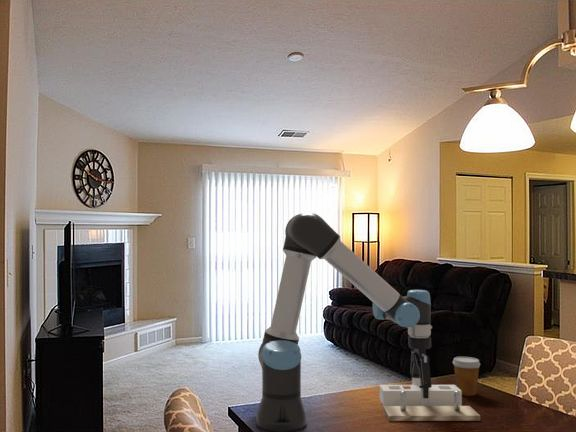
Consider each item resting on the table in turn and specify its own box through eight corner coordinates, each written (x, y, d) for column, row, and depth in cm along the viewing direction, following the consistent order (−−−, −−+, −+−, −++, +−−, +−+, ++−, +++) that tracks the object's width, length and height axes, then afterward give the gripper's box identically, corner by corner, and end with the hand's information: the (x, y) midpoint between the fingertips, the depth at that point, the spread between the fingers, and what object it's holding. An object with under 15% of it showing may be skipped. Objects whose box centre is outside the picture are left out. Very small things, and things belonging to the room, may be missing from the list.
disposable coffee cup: (485, 392, 184) (484, 359, 184) (474, 399, 177) (474, 364, 177) (459, 387, 190) (458, 355, 191) (448, 393, 183) (448, 359, 183)
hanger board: (388, 420, 156) (388, 415, 156) (383, 410, 165) (383, 406, 165) (480, 420, 156) (480, 415, 156) (469, 410, 165) (469, 405, 165)
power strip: (383, 406, 169) (383, 389, 169) (379, 399, 176) (379, 383, 176) (461, 406, 169) (461, 388, 170) (454, 399, 176) (454, 382, 176)
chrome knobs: (401, 414, 159) (400, 392, 160) (399, 412, 161) (399, 390, 161) (461, 414, 159) (460, 392, 160) (459, 412, 161) (458, 390, 162)
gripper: (440, 342, 162) (442, 413, 161) (421, 329, 185) (422, 391, 184) (417, 343, 162) (418, 413, 161) (400, 329, 185) (401, 391, 184)
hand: (420, 401), depth 173 cm, fingers open, 10 cm apart
